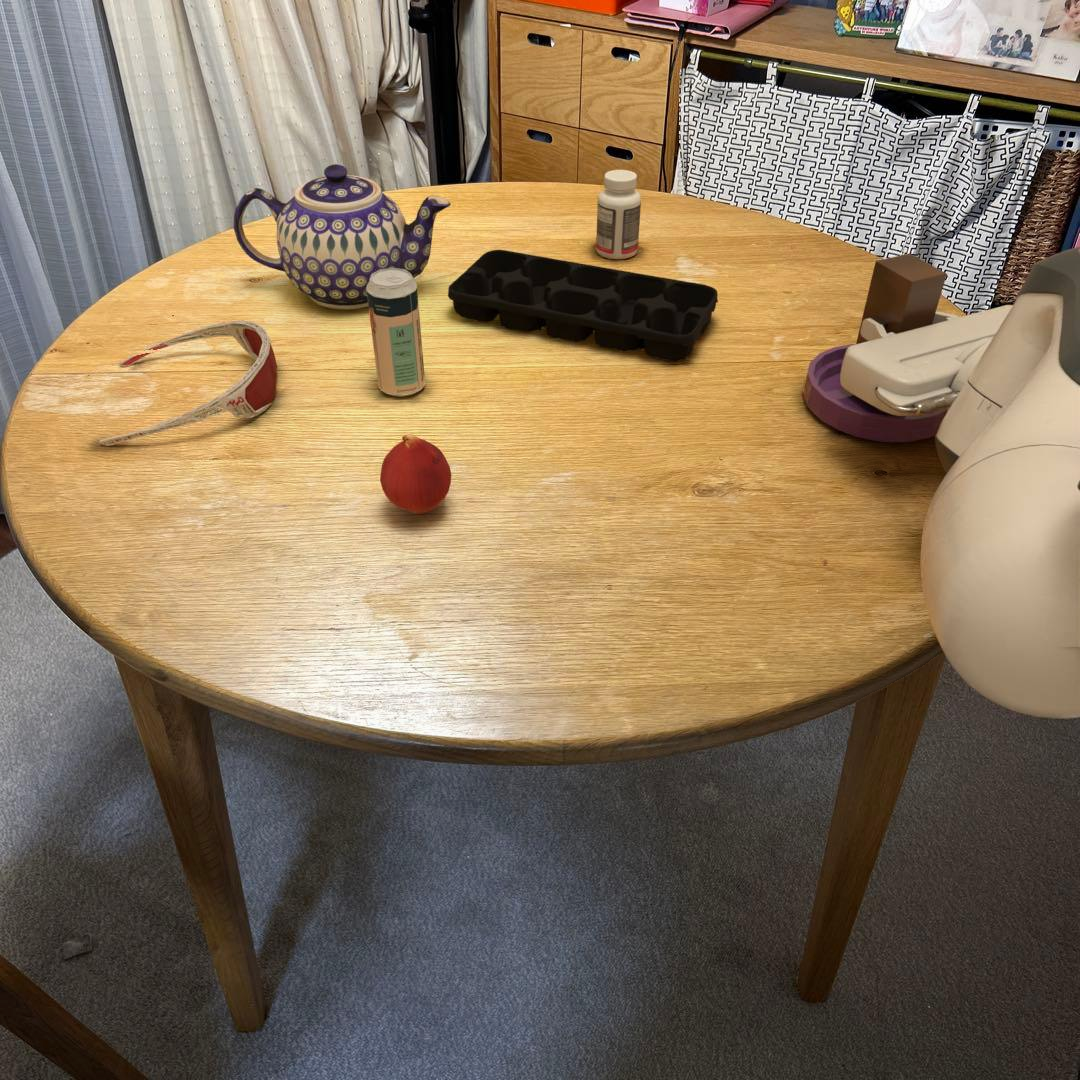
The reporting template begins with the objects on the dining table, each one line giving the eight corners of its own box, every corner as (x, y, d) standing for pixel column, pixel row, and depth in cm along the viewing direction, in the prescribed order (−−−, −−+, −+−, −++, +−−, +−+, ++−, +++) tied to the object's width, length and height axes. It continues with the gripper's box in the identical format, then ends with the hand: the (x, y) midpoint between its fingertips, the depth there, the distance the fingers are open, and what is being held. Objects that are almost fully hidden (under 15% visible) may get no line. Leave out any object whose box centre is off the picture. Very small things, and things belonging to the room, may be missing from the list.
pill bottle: (634, 242, 125) (639, 166, 119) (640, 260, 121) (646, 182, 115) (593, 243, 125) (596, 167, 119) (597, 261, 121) (601, 183, 115)
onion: (424, 482, 86) (417, 406, 80) (467, 511, 83) (462, 433, 77) (372, 511, 83) (361, 433, 77) (414, 542, 79) (405, 463, 74)
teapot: (228, 316, 110) (198, 186, 100) (267, 260, 121) (244, 139, 112) (445, 324, 108) (436, 194, 99) (464, 267, 120) (457, 145, 110)
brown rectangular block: (918, 403, 93) (956, 276, 84) (882, 413, 91) (917, 286, 83) (873, 372, 97) (905, 249, 89) (838, 381, 96) (867, 257, 88)
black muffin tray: (710, 370, 101) (714, 337, 98) (433, 343, 105) (431, 312, 102) (717, 295, 114) (721, 265, 111) (471, 274, 118) (470, 245, 116)
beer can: (400, 370, 101) (389, 261, 93) (435, 384, 98) (426, 274, 91) (368, 390, 98) (354, 279, 90) (403, 405, 95) (392, 292, 88)
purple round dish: (951, 382, 99) (959, 356, 97) (949, 458, 89) (959, 431, 87) (811, 359, 102) (816, 334, 100) (794, 430, 92) (799, 404, 90)
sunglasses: (287, 429, 92) (268, 385, 88) (113, 476, 91) (87, 433, 88) (285, 342, 104) (269, 301, 101) (133, 382, 104) (111, 342, 100)
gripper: (896, 450, 79) (794, 372, 89) (1075, 394, 86) (962, 327, 95) (915, 383, 75) (806, 309, 85) (1102, 330, 82) (981, 267, 91)
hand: (890, 318), depth 90 cm, fingers closed on brown rectangular block, 4 cm apart
